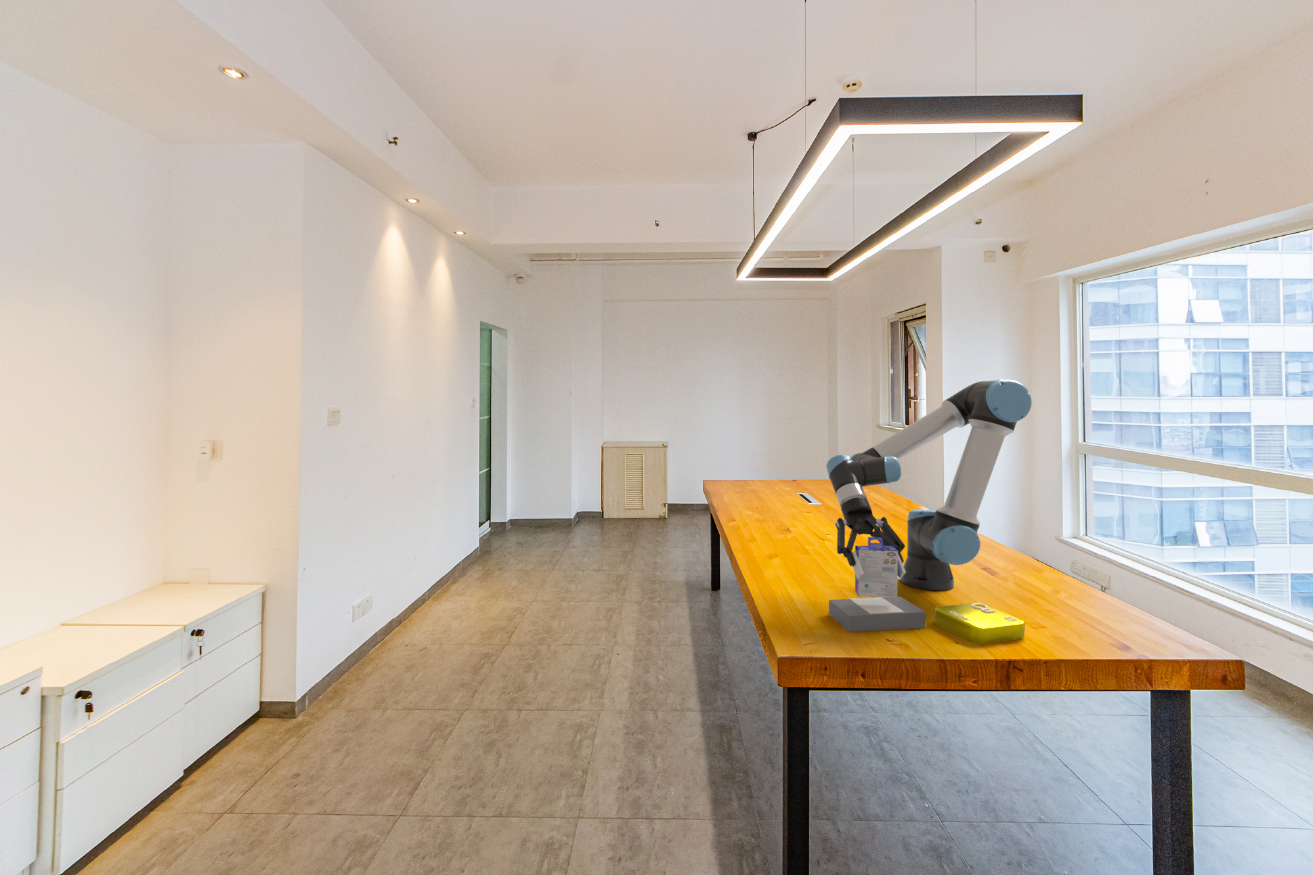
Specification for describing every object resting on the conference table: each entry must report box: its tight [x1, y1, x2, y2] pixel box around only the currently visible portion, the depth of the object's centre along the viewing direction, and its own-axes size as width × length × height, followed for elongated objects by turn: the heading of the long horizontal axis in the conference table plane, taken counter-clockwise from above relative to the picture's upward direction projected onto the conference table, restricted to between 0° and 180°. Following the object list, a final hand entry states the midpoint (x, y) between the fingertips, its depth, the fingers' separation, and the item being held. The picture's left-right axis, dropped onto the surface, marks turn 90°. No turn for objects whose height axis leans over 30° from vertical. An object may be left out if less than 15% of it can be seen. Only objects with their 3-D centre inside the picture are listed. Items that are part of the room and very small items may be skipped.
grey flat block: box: [828, 596, 927, 633], centre depth 150 cm, size 20×12×4 cm, turn 98°
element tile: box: [934, 602, 1026, 645], centre depth 144 cm, size 15×15×5 cm
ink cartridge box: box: [854, 536, 898, 598], centre depth 150 cm, size 10×6×14 cm, turn 82°
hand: (881, 575), depth 147 cm, fingers closed on ink cartridge box, 10 cm apart
